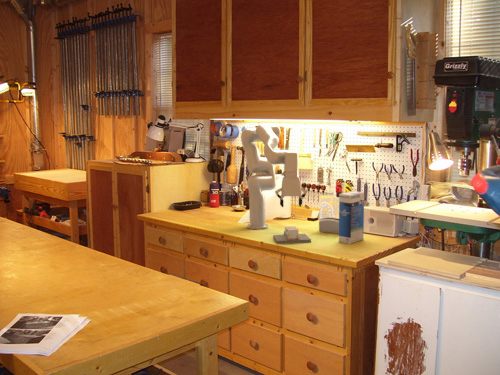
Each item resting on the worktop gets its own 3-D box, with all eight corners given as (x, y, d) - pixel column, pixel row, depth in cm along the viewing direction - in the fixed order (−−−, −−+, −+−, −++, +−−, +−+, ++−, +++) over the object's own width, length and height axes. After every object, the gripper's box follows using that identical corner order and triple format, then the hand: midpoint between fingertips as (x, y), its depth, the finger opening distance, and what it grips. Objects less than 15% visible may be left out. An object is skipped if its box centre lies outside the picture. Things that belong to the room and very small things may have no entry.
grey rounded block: (349, 232, 292) (347, 217, 288) (346, 236, 289) (344, 221, 285) (322, 229, 301) (319, 214, 297) (319, 233, 297) (316, 218, 293)
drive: (298, 239, 271) (298, 229, 270) (288, 239, 270) (287, 230, 270) (295, 235, 280) (295, 226, 279) (285, 235, 279) (285, 226, 279)
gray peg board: (273, 237, 282) (273, 230, 281) (305, 236, 284) (305, 229, 283) (277, 243, 268) (277, 236, 267) (310, 242, 270) (310, 234, 269)
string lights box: (352, 237, 280) (353, 190, 276) (364, 239, 274) (365, 192, 271) (338, 241, 270) (338, 193, 267) (350, 244, 265) (350, 195, 262)
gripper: (276, 175, 267) (276, 208, 269) (308, 175, 269) (308, 207, 271) (274, 174, 274) (274, 205, 276) (305, 173, 276) (305, 204, 278)
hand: (291, 206), depth 274 cm, fingers open, 9 cm apart
